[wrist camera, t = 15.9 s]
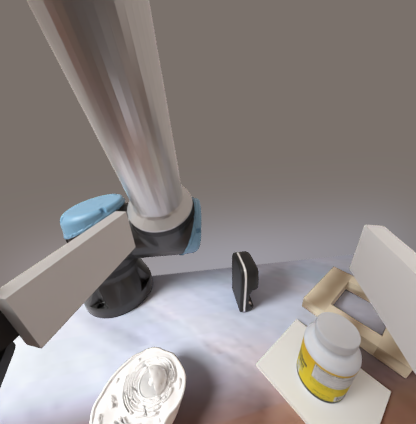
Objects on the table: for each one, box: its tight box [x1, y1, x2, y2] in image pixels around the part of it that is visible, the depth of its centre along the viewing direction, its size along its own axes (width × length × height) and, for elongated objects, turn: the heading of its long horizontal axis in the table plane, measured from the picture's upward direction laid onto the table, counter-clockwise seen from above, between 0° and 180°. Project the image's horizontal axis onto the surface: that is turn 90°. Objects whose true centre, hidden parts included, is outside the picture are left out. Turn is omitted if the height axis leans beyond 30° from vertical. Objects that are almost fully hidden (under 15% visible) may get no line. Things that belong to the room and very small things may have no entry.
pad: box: [256, 319, 391, 424], centre depth 28 cm, size 14×12×1 cm
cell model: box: [89, 347, 186, 424], centre depth 25 cm, size 10×12×7 cm
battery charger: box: [232, 251, 258, 312], centre depth 40 cm, size 7×4×11 cm, turn 8°
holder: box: [302, 267, 413, 379], centre depth 37 cm, size 16×14×2 cm
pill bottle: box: [297, 312, 362, 404], centre depth 26 cm, size 6×6×12 cm
